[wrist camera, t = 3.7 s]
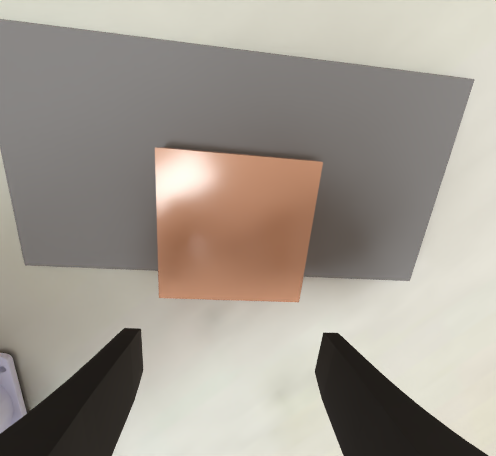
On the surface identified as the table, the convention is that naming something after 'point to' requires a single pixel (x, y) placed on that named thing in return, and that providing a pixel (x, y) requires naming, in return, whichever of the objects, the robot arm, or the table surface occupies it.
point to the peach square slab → (233, 224)
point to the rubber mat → (214, 143)
